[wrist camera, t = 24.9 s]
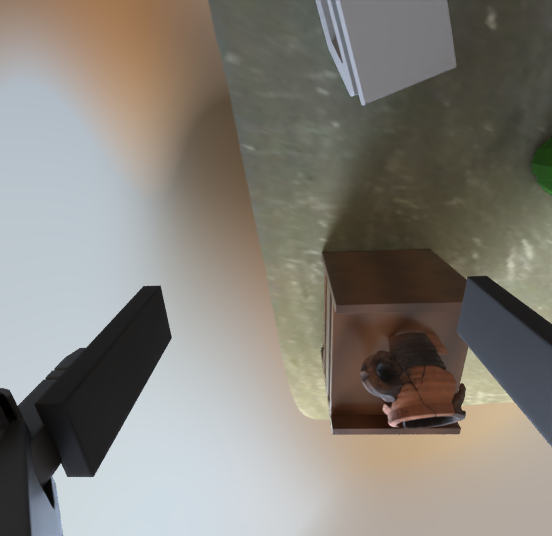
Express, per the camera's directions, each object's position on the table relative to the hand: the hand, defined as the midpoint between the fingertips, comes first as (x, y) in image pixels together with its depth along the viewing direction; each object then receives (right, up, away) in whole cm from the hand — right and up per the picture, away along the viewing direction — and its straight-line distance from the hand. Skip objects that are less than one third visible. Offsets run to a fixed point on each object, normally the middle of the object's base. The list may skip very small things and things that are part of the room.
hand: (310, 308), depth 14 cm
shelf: (+13, -4, +35) cm, 37 cm away
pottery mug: (+13, -9, +23) cm, 28 cm away
